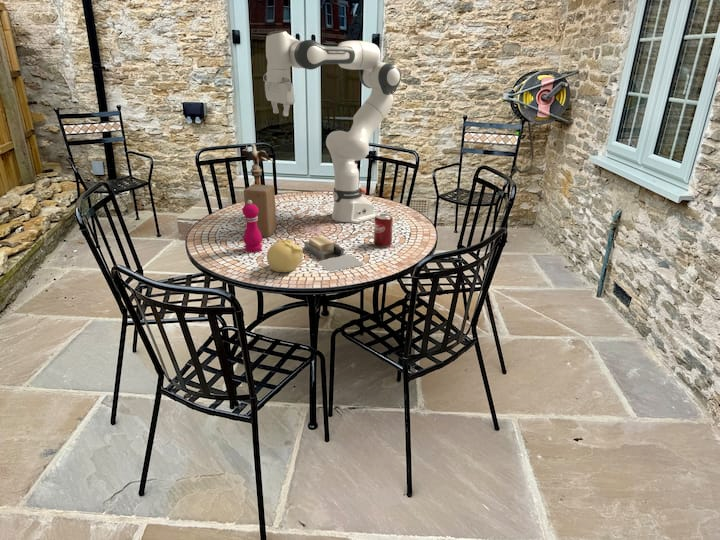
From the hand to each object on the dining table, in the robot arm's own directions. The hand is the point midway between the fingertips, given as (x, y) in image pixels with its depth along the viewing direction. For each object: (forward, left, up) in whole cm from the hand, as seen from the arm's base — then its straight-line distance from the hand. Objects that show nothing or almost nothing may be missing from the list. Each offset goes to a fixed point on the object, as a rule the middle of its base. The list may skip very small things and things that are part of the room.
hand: (280, 114), depth 191 cm
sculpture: (+18, +39, -48) cm, 65 cm away
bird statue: (+3, -23, -48) cm, 54 cm away
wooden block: (+11, 0, -48) cm, 50 cm away
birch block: (-1, +31, -47) cm, 57 cm away
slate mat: (-1, +45, -48) cm, 66 cm away
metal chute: (-1, +33, -48) cm, 58 cm away
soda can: (-26, +37, -48) cm, 66 cm away
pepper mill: (+21, +16, -48) cm, 55 cm away
